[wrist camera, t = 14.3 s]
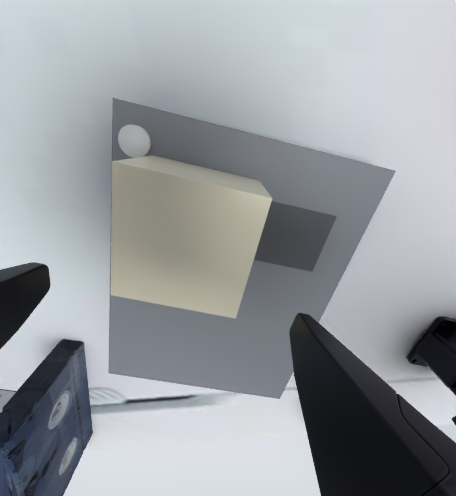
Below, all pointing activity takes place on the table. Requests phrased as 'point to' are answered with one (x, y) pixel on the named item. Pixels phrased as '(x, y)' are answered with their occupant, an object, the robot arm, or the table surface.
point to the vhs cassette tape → (46, 425)
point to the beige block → (184, 234)
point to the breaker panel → (265, 261)
